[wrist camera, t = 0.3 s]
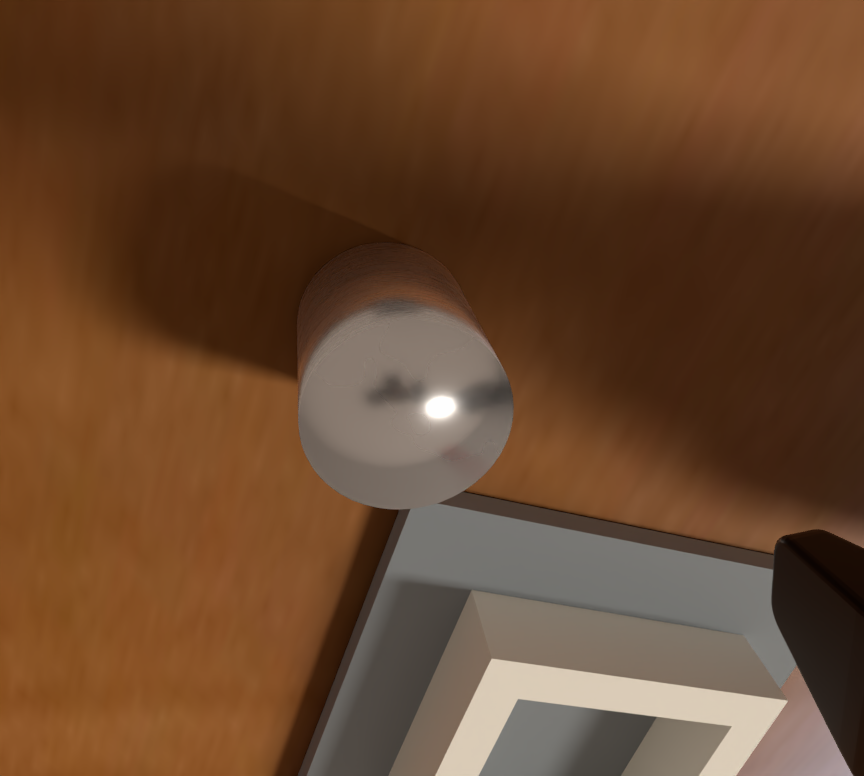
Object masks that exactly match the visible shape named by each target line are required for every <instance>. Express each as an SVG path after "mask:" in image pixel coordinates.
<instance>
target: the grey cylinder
mask: <svg viewBox="0 0 864 776" xmlns="http://www.w3.org/2000/svg"><path fill="white" fill-rule="evenodd" d="M297 359H298V423H299V435H300V439H301V443H302V447H303V450H304V452H305V454H306V457H307V459H308V461H309V462H310V464H311V466H312V467H313V469H314V470H315V471H316V473H317V474H318V475H319V476H320V478H321V479H322V480H324V481H325V482H326V483H327V484H328V485H329V486H330V487H331V488H333V489H334V490H336V491H337V492H338V493H340V494H342V495H344V496H345V497H347V498H349V499H351V500H354V501H356V502H359V503H361V504H364V505H368V506H372V507H376V508H384V509H413V508H420V507H425V506H429V505H433V504H436V503H439V502H442V501H444V500H447V499H449V498H451V497H454V496H455V495H457V494H459V493H461V492H462V491H464V490H466V489H467V488H468V487H470V486H471V485H473V484H474V483H475V482H477V481H478V480H479V479H480V478H481V477H482V476H483V475H484V474H485V473H486V472H487V471H488V470H489V469H490V468H491V466H492V465H493V464H494V463H495V461H496V460H497V458H498V457H499V455H500V454H501V452H502V450H503V448H504V446H505V444H506V442H507V439H508V436H509V433H510V430H511V425H512V420H513V395H512V391H511V387H510V383H509V380H508V378H507V375H506V373H505V371H504V369H503V367H502V365H501V363H500V361H499V360H498V358H497V356H496V354H495V352H494V350H493V348H492V346H491V345H490V343H489V341H488V339H487V337H486V335H485V333H484V331H483V330H482V328H481V326H480V324H479V322H478V320H477V318H476V316H475V315H474V313H473V311H472V309H471V307H470V305H469V303H468V302H467V300H466V298H465V296H464V294H463V292H462V290H461V288H460V287H459V285H458V283H457V281H456V280H455V278H454V276H453V275H452V274H451V273H450V271H449V270H448V269H447V268H446V267H445V266H444V265H443V264H442V263H441V262H440V261H438V260H437V259H436V258H434V257H433V256H431V255H430V254H428V253H426V252H424V251H422V250H420V249H418V248H415V247H412V246H409V245H405V244H400V243H391V242H378V243H370V244H364V245H361V246H357V247H354V248H351V249H349V250H347V251H345V252H343V253H341V254H339V255H338V256H336V257H334V258H333V259H331V260H330V261H329V262H328V263H326V264H325V265H324V266H323V267H322V268H321V269H320V270H319V271H318V272H317V273H316V274H315V275H314V277H313V278H312V280H311V281H310V282H309V284H308V286H307V288H306V290H305V291H304V293H303V296H302V299H301V302H300V305H299V310H298V317H297Z"/></svg>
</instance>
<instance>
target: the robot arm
mask: <svg viewBox="0 0 864 776" xmlns="http://www.w3.org/2000/svg"><path fill="white" fill-rule="evenodd" d="M771 605H772V611H773V615H774V618H775V621H776V624H777V626H778V628H779V630H780V632H781V634H782V636H783V638H784V640H785V642H786V644H787V646H788V648H789V650H790V652H791V654H792V656H793V658H794V660H795V662H796V664H797V666H798V668H799V670H800V672H801V674H802V676H803V678H804V680H805V682H806V684H807V686H808V688H809V690H810V692H811V694H812V696H813V698H814V700H815V702H816V704H817V706H818V708H819V710H820V712H821V714H822V716H823V718H824V720H825V722H826V724H827V726H828V728H829V730H830V732H831V734H832V736H833V738H834V740H835V742H836V744H837V746H838V748H839V750H840V752H841V754H842V756H843V758H844V759H845V761H846V763H847V765H848V767H849V769H850V771H851V773H852V774H853V776H864V548H862V547H860V546H858V545H855V544H853V543H851V542H849V541H847V540H845V539H843V538H840V537H838V536H836V535H834V534H832V533H830V532H827V531H824V530H809V531H805V532H800V533H795V534H790V535H785V536H783V537H781V538H779V540H778V541H777V543H776V545H775V550H774V562H773V578H772V593H771Z"/></svg>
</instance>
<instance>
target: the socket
mask: <svg viewBox="0 0 864 776" xmlns="http://www.w3.org/2000/svg"><path fill="white" fill-rule="evenodd" d="M773 562H774V555H770V554H765V553H760V552H755V551H750V550H745V549H740V548H736V547H731V546H726V545H721V544H716V543H711V542H706V541H701V540H696V539H691V538H686V537H681V536H677V535H672V534H667V533H662V532H657V531H652V530H647V529H642V528H637V527H632V526H627V525H623V524H618V523H613V522H608V521H603V520H598V519H593V518H588V517H583V516H578V515H573V514H569V513H564V512H559V511H554V510H549V509H544V508H539V507H534V506H529V505H524V504H519V503H515V502H510V501H505V500H500V499H495V498H490V497H485V496H480V495H475V494H470V493H465V492H461V493H459V494H457V495H455V496H454V497H451V498H449V499H447V500H444V501H442V502H439V503H436V504H433V505H429V506H425V507H420V508H413V509H400V510H399V512H398V515H397V517H396V520H395V523H394V525H393V528H392V531H391V533H390V536H389V538H388V541H387V544H386V546H385V549H384V551H383V554H382V557H381V559H380V562H379V565H378V567H377V570H376V572H375V575H374V578H373V580H372V583H371V585H370V588H369V591H368V593H367V596H366V599H365V601H364V604H363V606H362V609H361V612H360V614H359V617H358V619H357V622H356V625H355V627H354V630H353V632H352V635H351V638H350V640H349V643H348V646H347V648H346V651H345V653H344V656H343V659H342V661H341V664H340V666H339V669H338V672H337V674H336V677H335V680H334V682H333V685H332V687H331V690H330V693H329V695H328V698H327V700H326V703H325V706H324V708H323V711H322V713H321V716H320V719H319V721H318V724H317V727H316V729H315V732H314V734H313V737H312V740H311V742H310V745H309V747H308V750H307V753H306V755H305V758H304V761H303V763H302V766H301V768H300V771H299V774H298V776H736V775H737V773H738V772H739V770H740V769H741V768H742V766H743V765H744V763H745V762H746V760H747V759H748V758H749V756H750V755H751V753H752V752H753V750H754V749H755V748H756V746H757V745H758V743H759V742H760V740H761V739H762V738H763V736H764V735H765V733H766V732H767V730H768V729H769V728H770V726H771V725H772V723H773V722H774V720H775V719H776V718H777V716H778V715H779V713H780V712H781V710H782V709H783V707H784V706H785V705H786V703H787V702H788V700H787V698H786V697H785V695H784V694H783V692H782V691H781V689H780V688H781V687H782V686H783V684H784V683H785V681H786V680H787V678H788V677H789V675H790V674H791V672H792V671H793V670H794V668H795V667H796V665H797V664H796V662H795V660H794V658H793V656H792V654H791V652H790V650H789V648H788V646H787V644H786V642H785V640H784V638H783V636H782V634H781V632H780V630H779V628H778V626H777V624H776V621H775V618H774V615H773V611H772V605H771V593H772V578H773Z"/></svg>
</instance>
